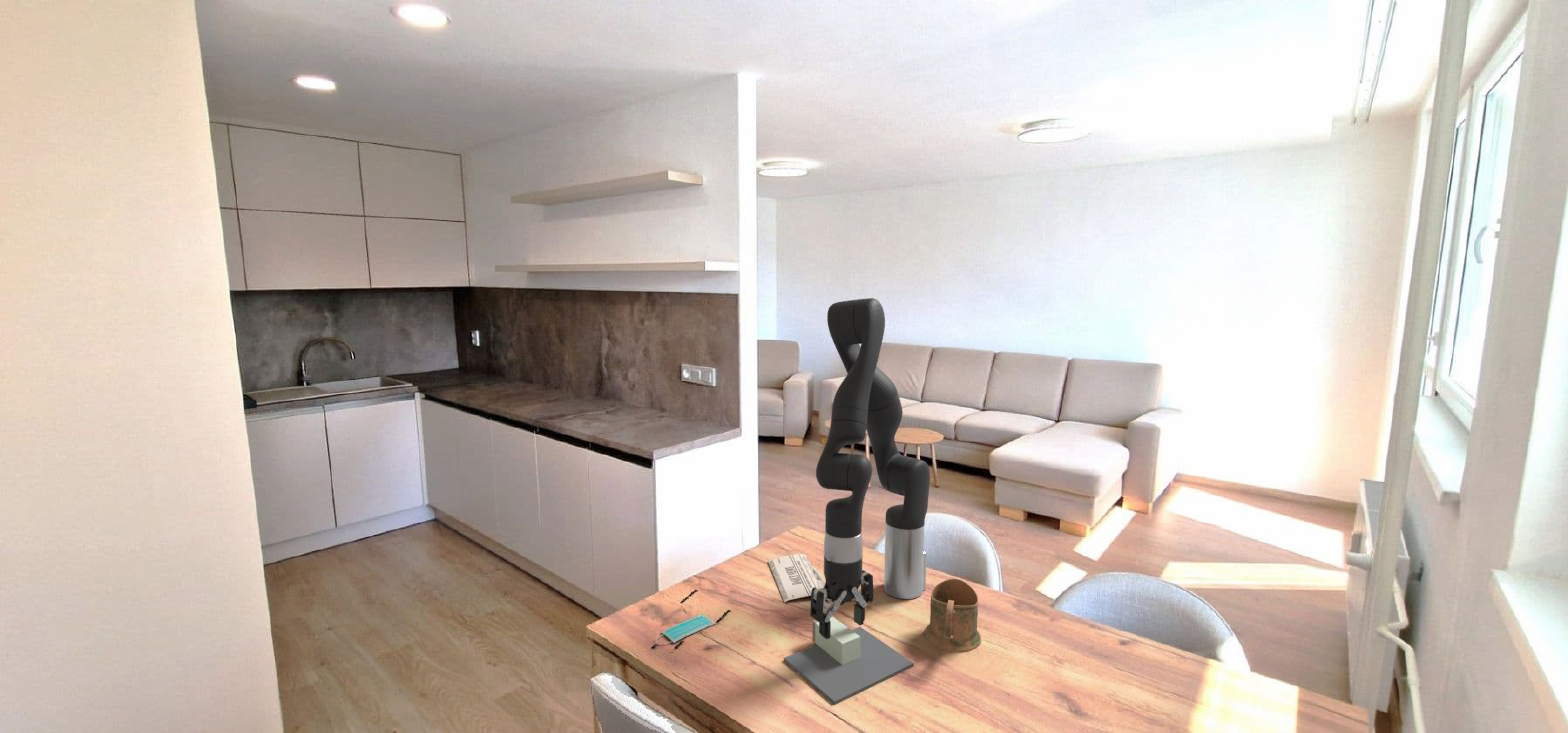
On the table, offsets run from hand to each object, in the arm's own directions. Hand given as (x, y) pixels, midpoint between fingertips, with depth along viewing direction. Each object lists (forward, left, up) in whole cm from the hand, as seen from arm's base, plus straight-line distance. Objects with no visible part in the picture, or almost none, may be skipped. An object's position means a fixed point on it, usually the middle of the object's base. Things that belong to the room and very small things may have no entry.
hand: (842, 630), depth 128 cm
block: (0, +2, -3) cm, 4 cm away
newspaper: (-13, -32, -7) cm, 36 cm away
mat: (0, +2, -6) cm, 6 cm away
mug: (-22, +9, -6) cm, 25 cm away
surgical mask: (+20, -27, -7) cm, 34 cm away
